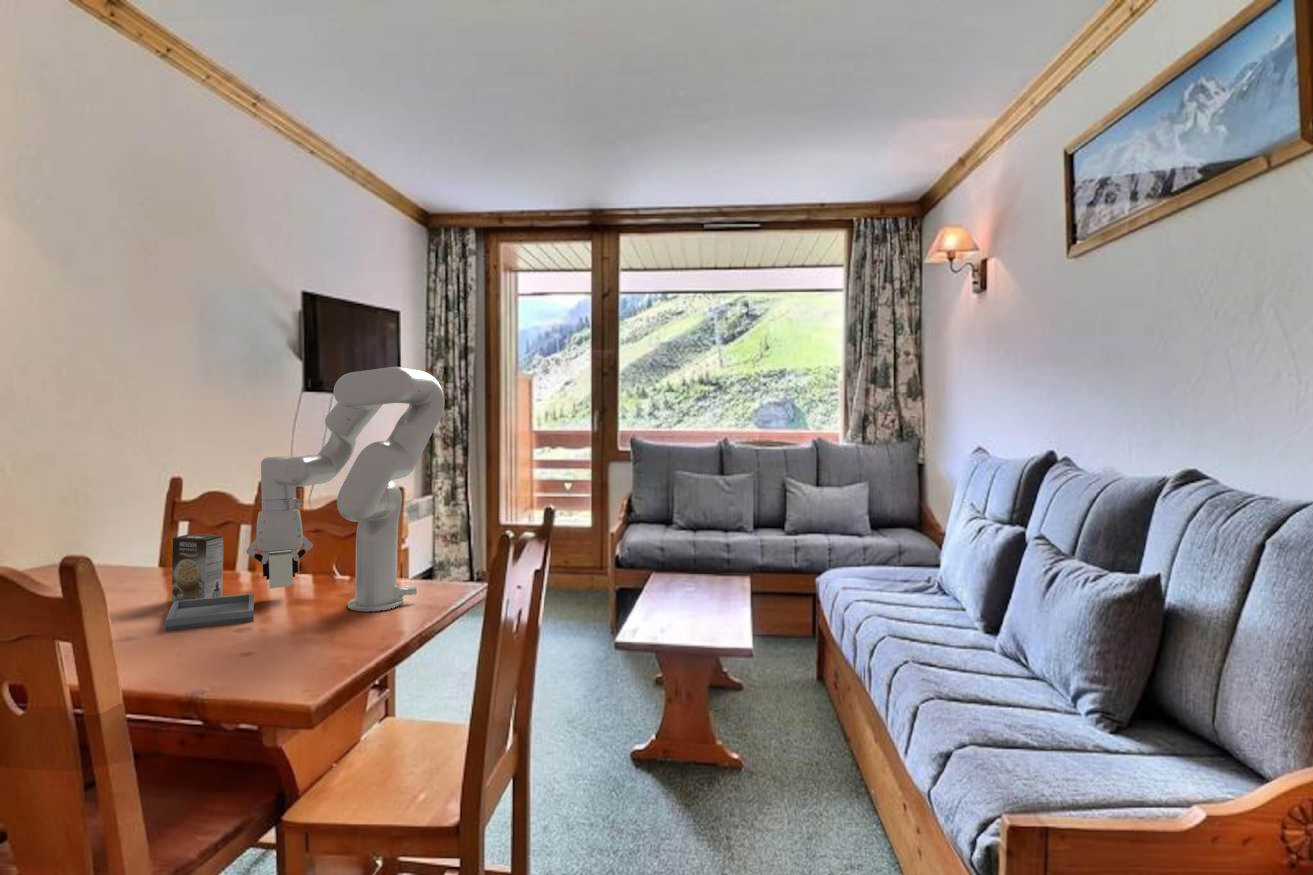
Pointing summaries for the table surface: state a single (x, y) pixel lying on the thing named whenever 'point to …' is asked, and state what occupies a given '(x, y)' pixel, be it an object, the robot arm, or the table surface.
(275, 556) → the sage block
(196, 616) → the tray
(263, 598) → the table surface
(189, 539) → the coffee box
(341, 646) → the table surface
